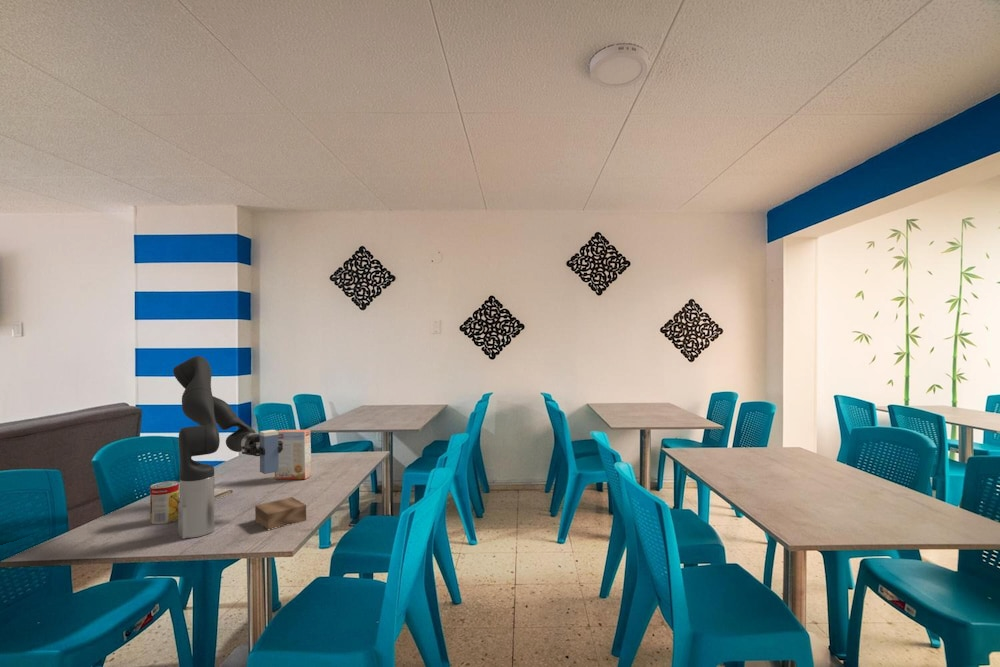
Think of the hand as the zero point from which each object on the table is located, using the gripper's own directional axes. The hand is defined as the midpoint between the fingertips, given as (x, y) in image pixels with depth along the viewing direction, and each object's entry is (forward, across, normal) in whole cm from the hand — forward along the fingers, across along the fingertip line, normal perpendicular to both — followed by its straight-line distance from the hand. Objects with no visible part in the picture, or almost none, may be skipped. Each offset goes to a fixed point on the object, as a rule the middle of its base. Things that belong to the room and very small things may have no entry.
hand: (272, 451), depth 165 cm
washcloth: (-37, -13, +23) cm, 45 cm away
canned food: (-23, -27, +22) cm, 42 cm away
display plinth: (+7, 0, +22) cm, 23 cm away
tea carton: (-3, 0, +8) cm, 8 cm away
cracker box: (-41, +23, +22) cm, 52 cm away
